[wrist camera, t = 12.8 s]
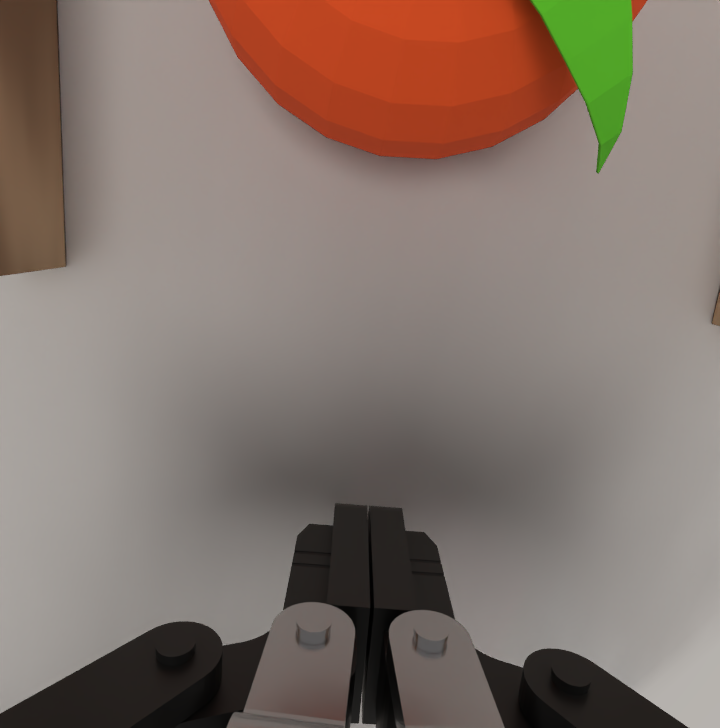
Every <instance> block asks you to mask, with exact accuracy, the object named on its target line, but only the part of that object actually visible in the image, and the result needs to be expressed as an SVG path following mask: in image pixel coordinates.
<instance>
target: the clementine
mask: <svg viewBox="0 0 720 728" xmlns="http://www.w3.org/2000/svg"><path fill="white" fill-rule="evenodd" d="M646 1H647V0H209V2H210V4H211V6H212V8H213V10H214V11H215V13H216V15H217V17H218V19H219V21H220V23H221V25H222V27H223V29H224V31H225V33H226V35H227V37H228V39H229V41H230V43H231V45H232V47H233V49H234V51H235V53H236V55H237V57H238V58H239V59H240V60H241V62H242V63H243V64H244V65H245V66H246V67H247V69H248V70H249V71H250V72H251V73H252V74H253V75H254V77H255V78H256V79H257V80H258V81H259V82H260V84H261V85H262V86H263V87H264V88H265V89H266V91H267V92H268V93H269V94H270V95H271V96H272V97H273V99H274V100H275V101H276V102H277V103H278V104H279V105H280V106H282V107H283V108H285V109H286V110H288V111H289V112H290V113H292V114H293V115H295V116H296V117H298V118H299V119H301V120H302V121H304V122H305V123H306V124H308V125H309V126H311V127H312V128H314V129H315V130H317V131H318V132H320V133H321V134H322V135H324V136H325V137H327V138H330V139H333V140H336V141H339V142H341V143H344V144H347V145H350V146H353V147H356V148H359V149H362V150H365V151H367V152H370V153H373V154H376V155H379V156H390V157H408V158H426V159H439V158H443V157H448V156H452V155H457V154H461V153H466V152H470V151H475V150H479V149H484V148H488V147H492V146H494V145H496V144H498V143H500V142H502V141H504V140H506V139H507V138H509V137H511V136H513V135H515V134H517V133H519V132H521V131H523V130H525V129H527V128H528V127H530V126H532V125H534V124H536V123H538V122H540V121H542V120H544V119H545V118H546V117H547V116H548V115H549V114H550V113H552V112H553V111H554V110H555V109H556V108H557V107H558V106H559V105H560V104H562V103H563V102H564V101H565V100H566V99H567V98H568V97H569V96H570V95H571V94H573V93H574V92H575V91H576V90H577V89H579V91H580V93H581V95H582V97H583V99H584V101H585V103H586V106H587V109H588V112H589V115H590V118H591V121H592V124H593V127H594V130H595V133H596V136H597V139H598V142H599V147H598V158H597V170H596V172H597V173H599V172H600V170H601V168H602V166H603V164H604V163H605V161H606V159H607V157H608V155H609V153H610V152H611V150H612V148H613V146H614V144H615V142H616V141H617V139H618V137H619V135H620V133H621V131H622V126H623V121H624V116H625V110H626V105H627V100H628V95H629V89H630V84H631V79H632V74H633V57H632V22H633V20H634V19H635V17H636V16H637V15H638V13H639V12H640V10H641V9H642V7H643V6H644V4H645V3H646Z"/></svg>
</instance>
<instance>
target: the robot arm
mask: <svg viewBox="0 0 720 728" xmlns="http://www.w3.org/2000/svg"><path fill="white" fill-rule="evenodd" d="M361 694H362V723H363V724H376V728H688V727H687V726H685V725H684V724H682V723H681V722H679V721H678V720H676V719H675V718H673V717H672V716H671V715H669V714H668V713H666V712H664V711H663V710H662V709H660V708H659V707H657V706H656V705H654V704H653V703H652V702H650V701H649V700H647V699H646V698H644V697H643V696H641V695H640V694H638V693H637V692H635V691H634V690H632V689H631V688H630V687H628V686H627V685H625V684H624V683H622V682H621V681H619V680H618V679H616V678H615V677H613V676H612V675H610V674H609V673H608V672H606V671H605V670H603V669H602V668H600V667H599V666H597V665H596V664H594V663H593V662H591V661H590V660H588V659H586V658H584V657H582V656H580V655H578V654H575V653H573V652H569V651H566V650H561V649H541V650H538V651H535V652H533V653H532V654H530V655H529V656H528V657H527V659H526V660H525V663H524V666H523V668H522V667H518V666H515V665H512V664H509V663H506V662H503V661H499V660H497V659H494V658H491V657H489V656H487V655H485V654H483V653H481V652H480V651H478V650H477V649H475V647H474V645H473V642H472V640H471V637H470V635H469V633H468V632H467V630H466V629H465V628H464V627H463V626H462V625H461V624H460V623H459V622H457V621H456V620H455V618H454V614H453V609H452V605H451V601H450V597H449V593H448V589H447V585H446V581H445V577H444V573H443V569H442V565H441V561H440V556H439V552H438V548H437V546H436V544H435V543H434V542H433V541H432V540H431V539H430V538H429V537H428V536H427V535H426V534H425V532H414V531H405V525H404V519H403V512H402V508H392V507H379V506H369V511H368V519H367V506H365V505H351V504H338V503H335V511H334V523H333V526H332V525H318V524H309V525H308V526H307V527H306V528H305V529H304V530H303V531H302V532H301V533H300V534H299V535H298V536H297V541H296V546H295V553H294V557H293V562H292V567H291V572H290V577H289V582H288V587H287V592H286V598H285V603H284V608H283V611H282V612H280V613H279V614H278V615H277V616H276V618H275V619H274V621H273V623H272V626H271V629H270V631H268V632H267V633H265V634H264V635H262V636H260V637H258V638H255V639H252V640H250V641H246V642H241V643H236V644H230V645H224V646H222V642H221V639H220V637H219V636H218V634H217V633H216V632H215V631H214V630H213V629H211V628H209V627H208V626H205V625H203V624H200V623H195V622H173V623H168V624H164V625H161V626H158V627H156V628H154V629H152V630H150V631H148V632H146V633H144V634H143V635H141V636H139V637H137V638H135V639H134V640H132V641H130V642H128V643H126V644H125V645H123V646H121V647H119V648H117V649H116V650H114V651H112V652H110V653H108V654H107V655H105V656H103V657H101V658H99V659H98V660H96V661H94V662H92V663H91V664H89V665H87V666H85V667H83V668H82V669H80V670H78V671H76V672H74V673H73V674H71V675H69V676H67V677H65V678H64V679H62V680H60V681H58V682H56V683H55V684H53V685H51V686H49V687H47V688H46V689H44V690H42V691H40V692H38V693H37V694H35V695H33V696H31V697H29V698H28V699H26V700H24V701H22V702H21V703H19V704H17V705H15V706H13V707H12V708H10V709H8V710H6V711H4V712H3V713H1V714H0V728H350V724H351V723H359V714H360V704H361Z"/></svg>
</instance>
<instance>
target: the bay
mask: <svg viewBox="0 0 720 728" xmlns="http://www.w3.org/2000/svg"><path fill="white" fill-rule="evenodd" d="M60 267H66V265H65V236H64V207H63V178H62V149H61V120H60V91H59V62H58V33H57V4H56V0H0V276H3V275H10V274H17V273H24V272H31V271H38V270H45V269H53V268H60ZM712 324H715V325H718V326H720V292H719V296H718V300H717V305H716V309H715V313H714V317H713V321H712Z"/></svg>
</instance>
